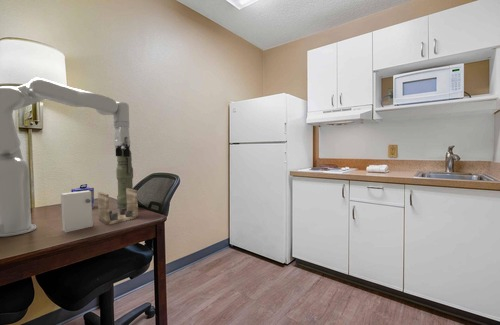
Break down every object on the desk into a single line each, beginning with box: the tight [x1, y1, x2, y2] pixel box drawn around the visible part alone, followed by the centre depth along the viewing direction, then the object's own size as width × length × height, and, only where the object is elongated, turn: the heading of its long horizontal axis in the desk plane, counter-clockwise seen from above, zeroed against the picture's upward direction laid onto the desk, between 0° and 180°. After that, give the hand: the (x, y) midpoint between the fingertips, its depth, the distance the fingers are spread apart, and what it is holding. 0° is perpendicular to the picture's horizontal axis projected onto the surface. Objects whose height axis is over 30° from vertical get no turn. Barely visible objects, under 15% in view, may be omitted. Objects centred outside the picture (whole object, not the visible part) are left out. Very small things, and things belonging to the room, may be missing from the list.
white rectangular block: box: [60, 190, 94, 233], centre depth 104 cm, size 10×5×16 cm, turn 140°
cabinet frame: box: [97, 188, 139, 226], centre depth 117 cm, size 14×10×14 cm
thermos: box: [115, 147, 134, 210], centre depth 141 cm, size 9×12×35 cm
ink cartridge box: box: [70, 183, 95, 209], centre depth 137 cm, size 10×6×14 cm, turn 155°
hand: (122, 156), depth 131 cm, fingers open, 9 cm apart
